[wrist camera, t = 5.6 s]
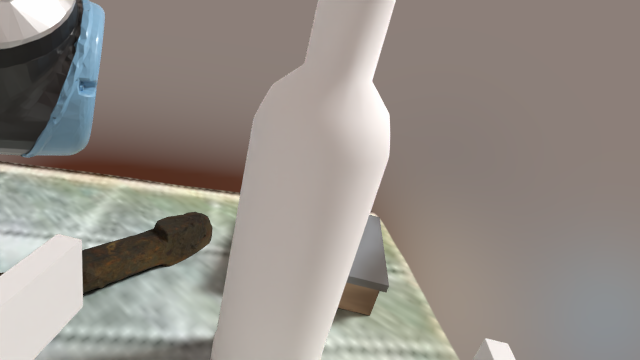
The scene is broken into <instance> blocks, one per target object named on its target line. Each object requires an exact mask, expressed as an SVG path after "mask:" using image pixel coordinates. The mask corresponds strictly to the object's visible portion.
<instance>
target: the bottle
mask: <svg viewBox="0 0 640 360" xmlns="http://www.w3.org/2000/svg"><path fill="white" fill-rule="evenodd" d="M395 1H396V0H318V3H317V8H316V13H315V18H314V22H313V27H312V31H311V36H310V40H309V45H308V49H307V54H306V58H305V63H304V64H303V65H301V66H300V67H298V68H297V69H295V70H294V71H292V72H291V73H289V74H288V75H286V76H284V77H283V78H281V79H280V80H278V81H277V82H275V83H274V84H272V86H271V88H270V89H269V91H268V93H267V94H266V96H265V98H264V99H263V101H262V103H261V105H260V107H259V109H258V111H257V113H256V115H255V116H254V119H253V124H252V125H253V126H252V130H251V136H250V142H249V147H248V154H247V159H246V165H245V171H244V176H243V182H242V188H241V193H240V199H239V205H238V211H237V216H236V222H235V228H234V234H233V239H232V245H231V251H230V257H229V262H228V268H227V274H226V280H225V285H224V291H223V297H222V303H221V308H220V314H219V320H218V326H217V330H216V332H215V335H214V340H213V346H212V352H211V358H210V360H320V359H321V355H322V352H323V349H324V346H325V343H326V340H327V337H328V334H329V331H330V329H331V326H332V323H333V320H334V317H335V314H336V311H337V308H338V305H339V302H340V299H341V296H342V293H343V290H344V287H345V285H346V282H347V279H348V276H349V273H350V270H351V267H352V264H353V261H354V258H355V255H356V252H357V249H358V246H359V244H360V241H361V238H362V235H363V232H364V229H365V226H366V223H367V220H368V217H369V214H370V211H371V208H372V205H373V202H374V200H375V196H376V194H377V191H378V188H379V185H380V182H381V179H382V176H383V173H384V170H385V167H386V164H387V161H388V157H389V152H390V120H389V119H390V118H389V112H388V111H387V109H386V107H385V105H384V103H383V101H382V99H381V97H380V95H379V94H378V92H377V90H376V88H375V86H374V84H373V82H372V79H373V76H374V72H375V69H376V65H377V62H378V58H379V55H380V52H381V49H382V45H383V42H384V38H385V35H386V32H387V28H388V25H389V21H390V18H391V14H392V11H393V7H394V4H395Z"/></svg>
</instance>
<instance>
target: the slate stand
mask: <svg viewBox="0 0 640 360" xmlns="http://www.w3.org/2000/svg"><path fill="white" fill-rule="evenodd" d="M388 287H389V283H388V275H387V268H386V261H385V254H384V247H383V239H382V232H381V225H380V218H379V217H376V216H372V215H369V217H368V220H367V223H366V226H365V229H364V232H363V235H362V238H361V241H360V244H359V246H358V249H357V252H356V255H355V258H354V261H353V264H352V267H351V270H350V273H349V276H348V279H347V282H346V285H345V287H344V290H343V293H342V296H341V299H340V302H339V305H338V308H341V309H345V310H349V311H353V312H357V313H361V314H365V315H369V316H370V314H371V311H372V309H373V306H374V304H375V301H376V298H377V296H378V293H379V291H383V292H387V289H388Z"/></svg>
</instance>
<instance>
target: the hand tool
mask: <svg viewBox="0 0 640 360" xmlns="http://www.w3.org/2000/svg"><path fill="white" fill-rule="evenodd" d="M211 237H212V225H211V224H210V220H209V218H208V216H206V215H204V214H202V213H197V212H191V213H186V214H184V215H177V216H171V217H166V218H164V219H161V220H159V221H157V223H156V225H155V227H154V229H151V230H148V231H146V232H143V233H140V234H137V235H134V236H130V237H127V238H123V239H120V240H116V241H113V242H109V243H106V244H103V245H99V246H96V247H92V248H89V249H86V250H82V277H83V293H85V292H88V291H90V290H93V289H97V288H103V287H104V286H105V285H107V284H108V283H112V282H115V281H118V280H121V279H123V278H125V277H127V276H130V275H133V274H136V273H139V272H141V271H144V270H146V269H149V268H152V267H154V266H157V265H160V264H161V265H163V266H168V267H169V266H172V265H174V264H177V263H179V262H181V261H183V260H185V259H187V258H188V257H190V256H192V255H193V254H195V253H197V252H198V251H199V250H201V249H202V248H204V247H205V246H206V245H207V244H209V243H210V241H211ZM2 274H4V273H0V276H1V275H2Z"/></svg>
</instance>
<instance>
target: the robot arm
mask: <svg viewBox="0 0 640 360" xmlns="http://www.w3.org/2000/svg"><path fill="white" fill-rule="evenodd" d="M104 21H105V14H104V11H103V9H102V8H101V7H100V6H99V5H97V4H95V3H92V2H90V1H89V0H0V154H8V155H21V156H22V157H28V158H29V157H33V156H35V155H72V154H75V153H78V152H79V151H81V150H82V149H84V148H85V146H86V145H87V143H88V141H89V138H90V134H91V127H92V121H93V113H94V104H95V97H96V86H97V81H98V73H99V67H100V58H101V51H102V41H103V32H104ZM82 307H83V277H82V240H81V239H76V238H72V237H68V236H64V235H60V234H57V235H55V236H54V237H53V238H51V239H50V240H48V241H47V242H46V243H44V244H43V245H42V246H40V247H39V248H38V249H36V250H35V251H34V252H32V253H31V254H30V255H28V256H27V257H25V258H24V259H23V260H21V261H20V262H19V263H17V264H16V265H15V266H13V267H12V268H11V269H9V270H8V271H6V272H5V273H4V274H2V275H1V276H0V360H34V359H35V358H36V357H37V356H38V355H39V353H40V352H41V351H42V350H43V349H44V348H45V347H46V346H47V345H48V344H49V343H50V342H51V340H52V339H53V338H54V337H55V336H56V335H57V334H58V333H59V332H60V331H61V330H62V329H63V328H64V326H65V325H66V324H67V323H68V322H69V321H70V320H71V319H72V318H73V317H74V316H75V315H76V313H77V312H78V311H79V310H80V309H81V308H82ZM473 360H515V358H514V356H513V354H512V351H511V349H510V347H509V345H508V344H507V343H502V342H498V341H494V340H490V339H486V338H485V339H484V341H483V343H482V344H481V346H480V348H479V350H478V351H477V353H476V355H475V357H474V359H473Z"/></svg>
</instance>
